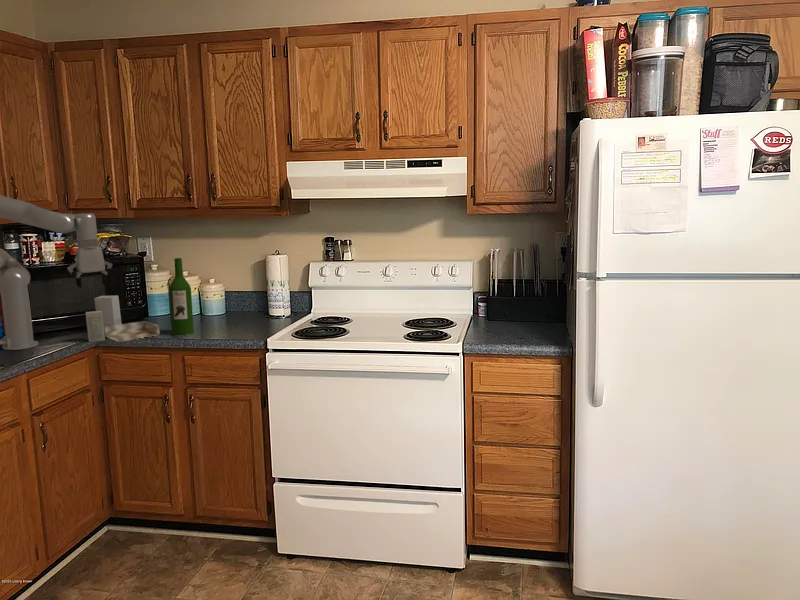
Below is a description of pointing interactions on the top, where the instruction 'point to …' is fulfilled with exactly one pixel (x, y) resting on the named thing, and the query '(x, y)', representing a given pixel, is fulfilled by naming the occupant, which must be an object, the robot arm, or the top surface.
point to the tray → (131, 331)
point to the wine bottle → (180, 302)
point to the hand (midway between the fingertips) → (92, 285)
